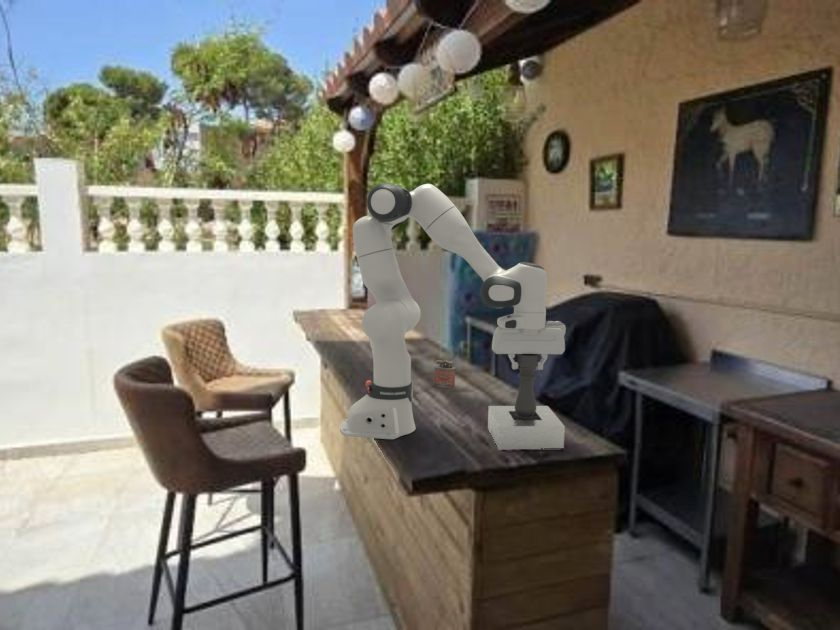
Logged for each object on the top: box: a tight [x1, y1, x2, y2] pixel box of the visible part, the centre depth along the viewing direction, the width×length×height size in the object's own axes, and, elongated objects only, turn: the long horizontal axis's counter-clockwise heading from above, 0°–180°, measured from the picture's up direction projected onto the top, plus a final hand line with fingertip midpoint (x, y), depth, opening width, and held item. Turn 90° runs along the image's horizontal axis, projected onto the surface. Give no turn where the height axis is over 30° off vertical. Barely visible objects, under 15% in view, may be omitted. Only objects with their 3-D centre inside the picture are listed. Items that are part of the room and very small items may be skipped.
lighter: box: [433, 359, 456, 389], centre depth 225 cm, size 8×3×10 cm, turn 74°
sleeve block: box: [487, 405, 566, 450], centre depth 172 cm, size 18×18×7 cm
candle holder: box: [514, 354, 539, 420], centre depth 171 cm, size 6×6×25 cm
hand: (527, 369), depth 169 cm, fingers closed on candle holder, 6 cm apart
